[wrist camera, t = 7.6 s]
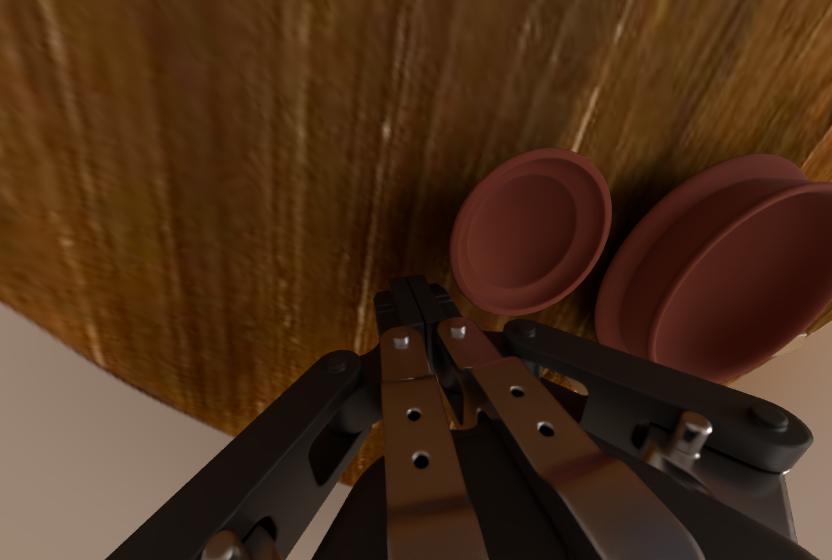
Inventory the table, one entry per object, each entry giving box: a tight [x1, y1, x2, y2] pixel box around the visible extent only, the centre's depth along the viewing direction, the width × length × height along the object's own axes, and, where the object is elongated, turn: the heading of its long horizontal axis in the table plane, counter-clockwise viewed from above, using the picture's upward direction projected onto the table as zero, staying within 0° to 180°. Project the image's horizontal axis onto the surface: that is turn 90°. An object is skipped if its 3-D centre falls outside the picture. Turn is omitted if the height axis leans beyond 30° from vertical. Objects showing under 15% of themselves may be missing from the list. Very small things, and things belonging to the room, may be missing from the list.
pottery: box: [449, 148, 832, 384], centre depth 14 cm, size 12×20×4 cm, turn 74°
